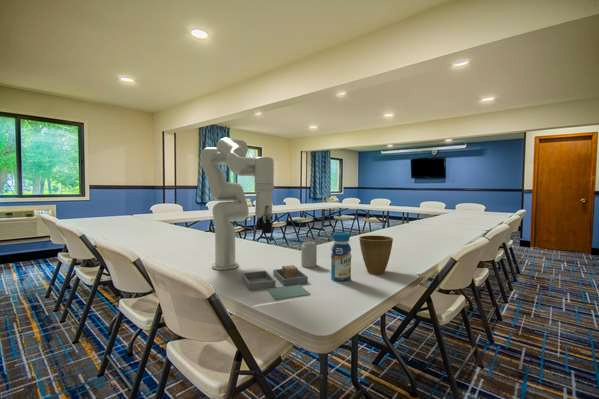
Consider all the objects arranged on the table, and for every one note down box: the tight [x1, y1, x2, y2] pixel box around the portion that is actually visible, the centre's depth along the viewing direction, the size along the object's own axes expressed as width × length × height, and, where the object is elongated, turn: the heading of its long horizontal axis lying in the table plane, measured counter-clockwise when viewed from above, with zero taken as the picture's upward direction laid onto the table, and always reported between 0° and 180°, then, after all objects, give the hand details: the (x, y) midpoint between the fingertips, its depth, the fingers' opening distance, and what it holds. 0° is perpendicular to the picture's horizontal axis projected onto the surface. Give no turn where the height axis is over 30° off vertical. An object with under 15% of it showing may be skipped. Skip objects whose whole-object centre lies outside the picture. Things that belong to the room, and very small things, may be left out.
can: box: [300, 241, 318, 269], centre depth 138 cm, size 8×8×12 cm
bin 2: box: [272, 268, 309, 286], centre depth 118 cm, size 14×10×3 cm
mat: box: [266, 284, 311, 301], centre depth 104 cm, size 11×13×1 cm
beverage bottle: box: [330, 231, 352, 284], centre depth 117 cm, size 8×8×20 cm
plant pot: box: [358, 234, 394, 275], centre depth 130 cm, size 15×15×16 cm
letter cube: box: [281, 264, 299, 279], centre depth 118 cm, size 5×5×5 cm
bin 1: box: [241, 270, 276, 292], centre depth 113 cm, size 14×10×3 cm
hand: (264, 231), depth 113 cm, fingers open, 9 cm apart
